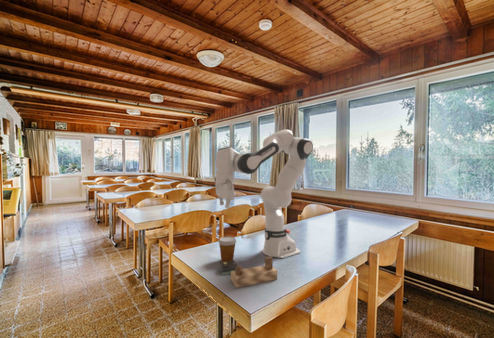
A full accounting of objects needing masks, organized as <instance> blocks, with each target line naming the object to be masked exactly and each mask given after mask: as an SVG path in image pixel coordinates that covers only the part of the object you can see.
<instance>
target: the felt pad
mask: <svg viewBox="0 0 494 338" xmlns="http://www.w3.org/2000/svg"><path fill="white" fill-rule="evenodd" d="M217 269H218V270H219V273H221V275H222V276H227V275H231V271H228V272H221V271H220V269H219V266H218V268H217ZM233 271H235V270H233Z"/></svg>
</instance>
